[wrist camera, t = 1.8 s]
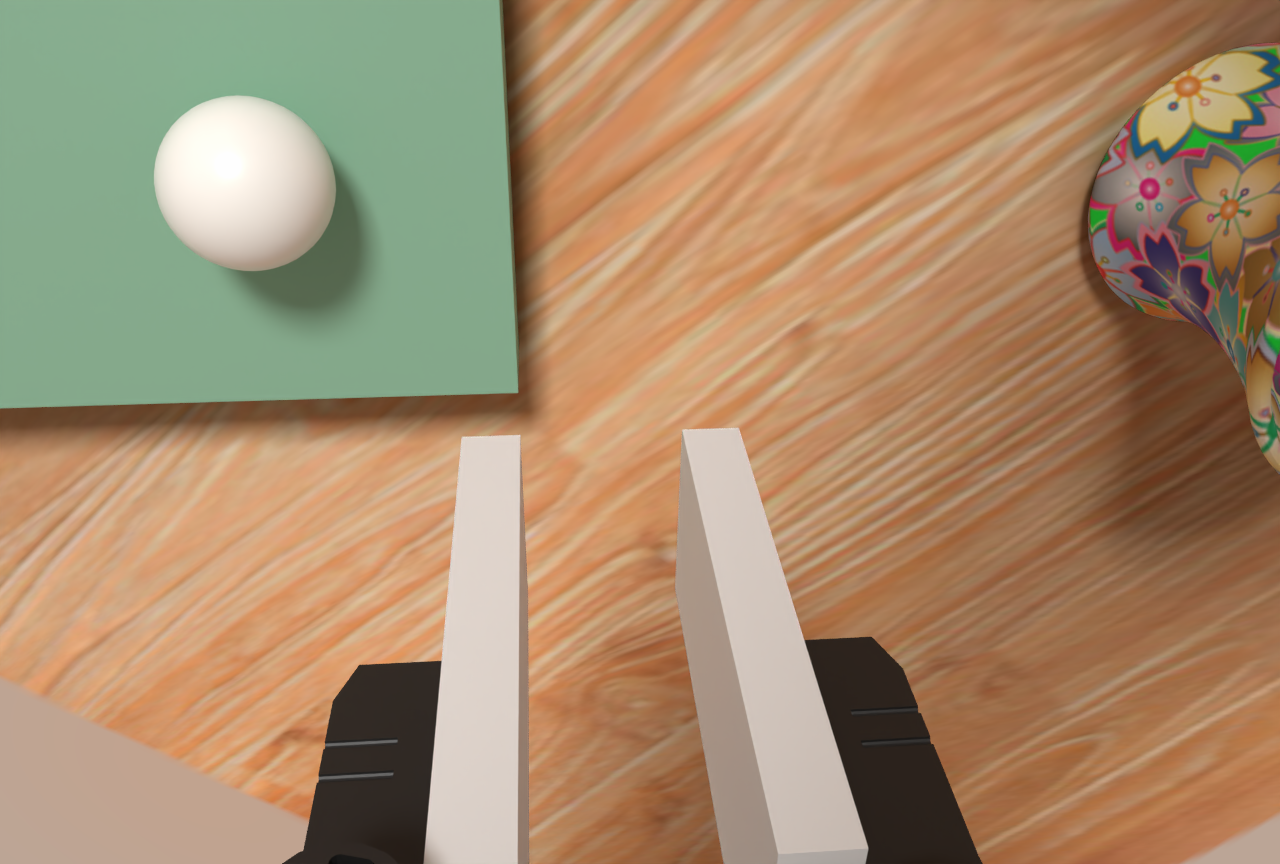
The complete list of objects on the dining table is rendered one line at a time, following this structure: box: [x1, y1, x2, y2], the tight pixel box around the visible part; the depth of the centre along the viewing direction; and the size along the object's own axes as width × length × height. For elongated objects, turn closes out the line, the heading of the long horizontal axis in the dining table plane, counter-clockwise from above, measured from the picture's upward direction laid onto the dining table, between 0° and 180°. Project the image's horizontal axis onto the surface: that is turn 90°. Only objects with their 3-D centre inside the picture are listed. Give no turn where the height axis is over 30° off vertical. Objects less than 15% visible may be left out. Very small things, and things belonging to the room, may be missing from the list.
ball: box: [154, 95, 336, 271], centre depth 26 cm, size 4×4×4 cm
